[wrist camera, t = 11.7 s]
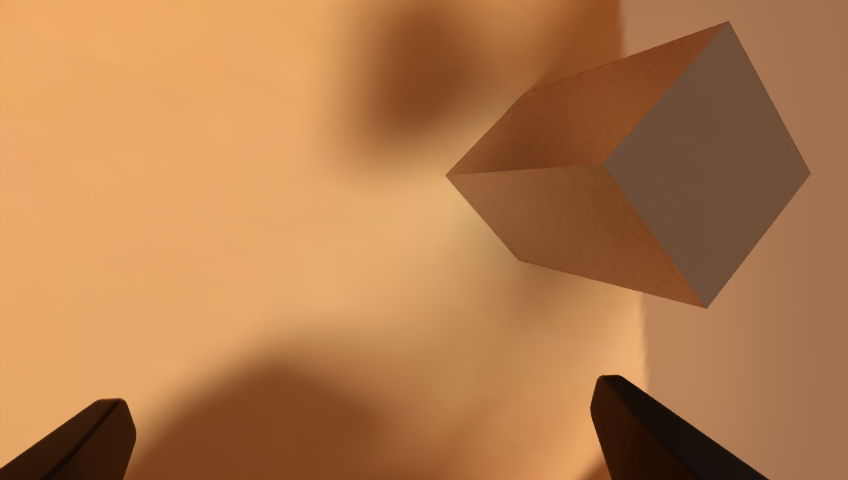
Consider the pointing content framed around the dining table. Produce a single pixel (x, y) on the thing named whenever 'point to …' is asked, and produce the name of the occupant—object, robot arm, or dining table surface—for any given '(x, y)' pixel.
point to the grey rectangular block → (640, 169)
